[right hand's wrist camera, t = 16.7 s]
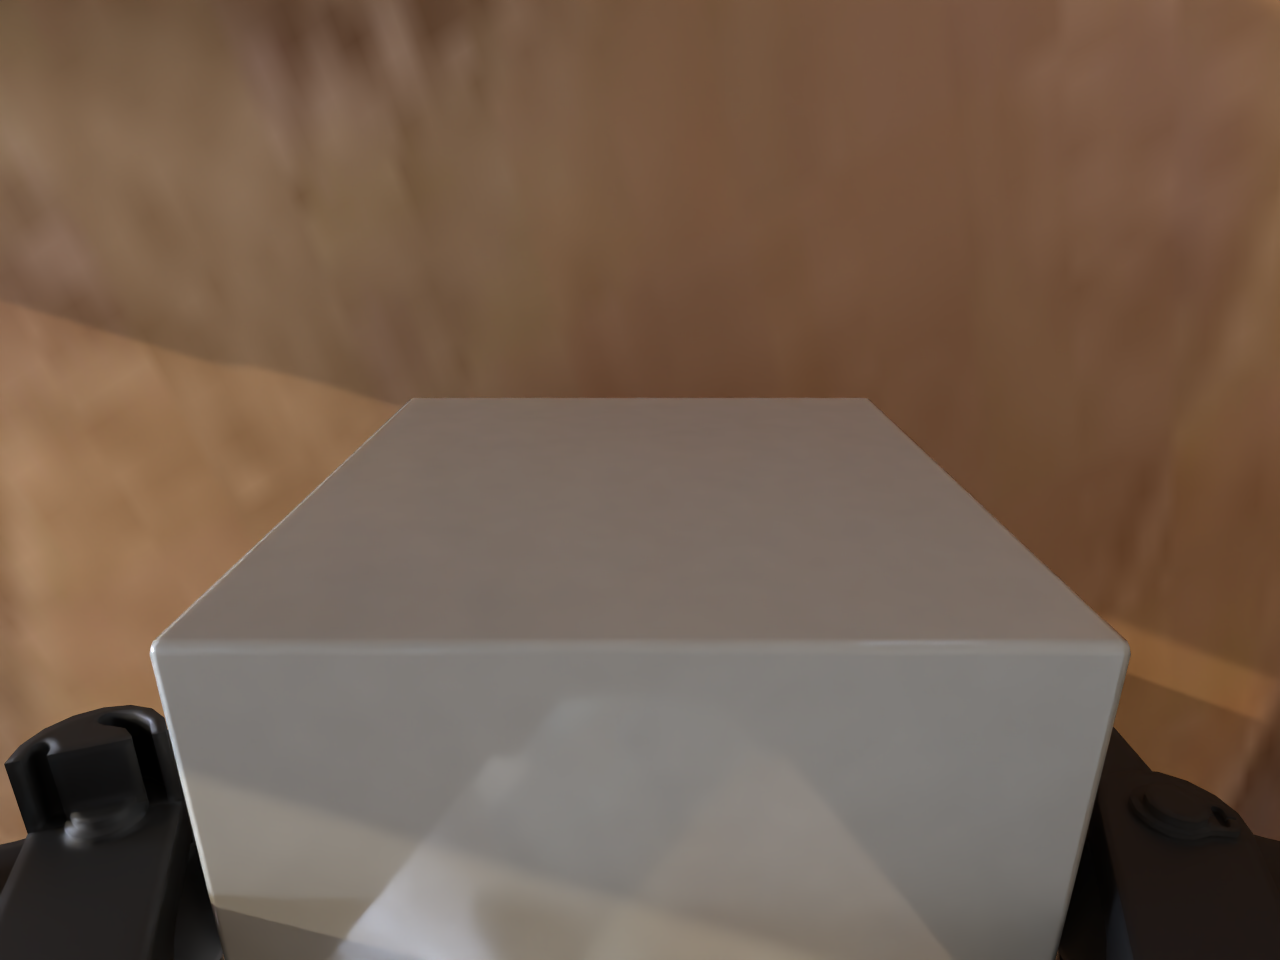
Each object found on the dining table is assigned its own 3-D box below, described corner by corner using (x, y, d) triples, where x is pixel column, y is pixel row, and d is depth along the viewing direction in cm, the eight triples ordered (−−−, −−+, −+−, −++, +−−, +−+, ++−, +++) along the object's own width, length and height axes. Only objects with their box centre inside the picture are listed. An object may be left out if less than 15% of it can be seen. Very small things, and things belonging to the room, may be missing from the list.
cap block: (447, 770, 15) (291, 1251, 8) (409, 396, 12) (139, 644, 6) (832, 770, 15) (990, 1250, 8) (870, 396, 12) (1139, 644, 6)
